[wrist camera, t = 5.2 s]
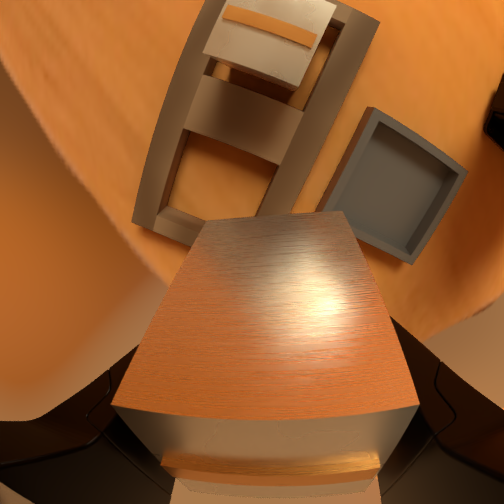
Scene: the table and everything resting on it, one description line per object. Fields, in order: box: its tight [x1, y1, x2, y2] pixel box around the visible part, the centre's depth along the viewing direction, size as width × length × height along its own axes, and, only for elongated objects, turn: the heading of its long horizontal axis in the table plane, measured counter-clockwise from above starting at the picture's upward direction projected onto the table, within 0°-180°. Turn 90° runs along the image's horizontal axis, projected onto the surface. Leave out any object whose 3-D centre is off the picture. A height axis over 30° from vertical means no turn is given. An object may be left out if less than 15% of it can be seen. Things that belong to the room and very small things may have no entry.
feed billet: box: [111, 211, 420, 498], centre depth 7 cm, size 4×4×7 cm
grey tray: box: [316, 107, 468, 265], centre depth 19 cm, size 8×8×2 cm
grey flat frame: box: [131, 0, 380, 247], centre depth 17 cm, size 10×19×2 cm, turn 158°
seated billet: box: [203, 0, 337, 91], centre depth 13 cm, size 4×4×7 cm
